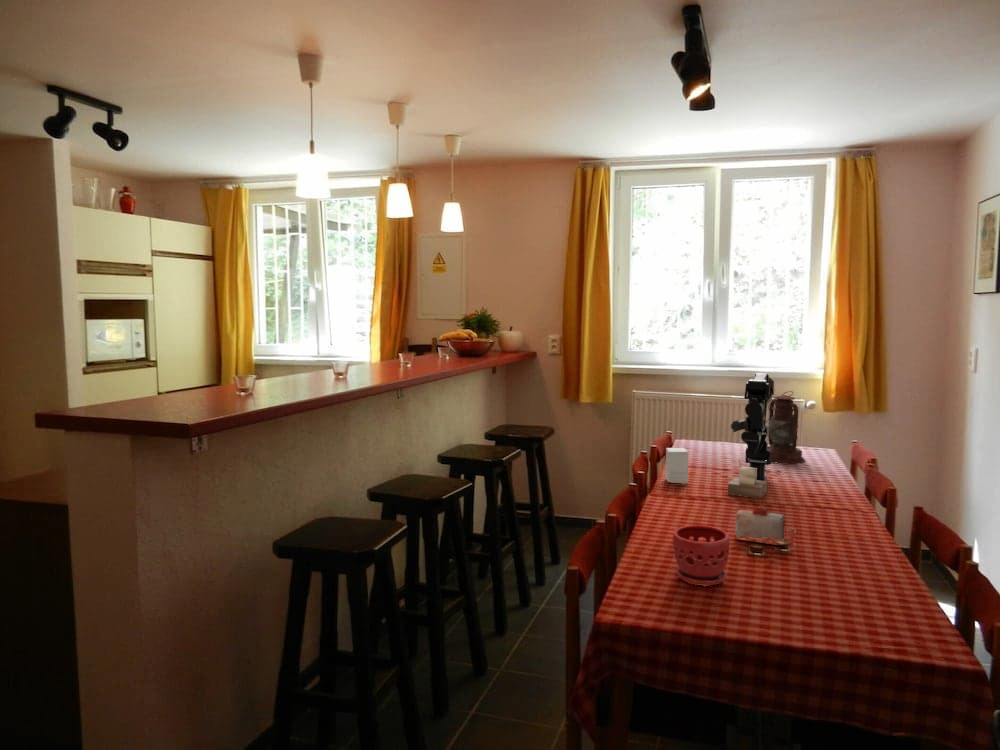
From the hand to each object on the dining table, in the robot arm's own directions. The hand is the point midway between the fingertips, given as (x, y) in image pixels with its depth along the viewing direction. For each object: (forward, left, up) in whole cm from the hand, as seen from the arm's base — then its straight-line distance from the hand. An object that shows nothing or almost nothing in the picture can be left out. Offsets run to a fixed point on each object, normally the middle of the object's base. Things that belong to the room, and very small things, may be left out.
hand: (754, 455), depth 254 cm
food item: (+60, +14, -12) cm, 63 cm away
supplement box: (+8, -26, -12) cm, 30 cm away
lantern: (-56, +1, -12) cm, 57 cm away
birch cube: (+10, 0, -8) cm, 13 cm away
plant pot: (+98, +8, -12) cm, 99 cm away
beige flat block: (+10, 0, -12) cm, 16 cm away
